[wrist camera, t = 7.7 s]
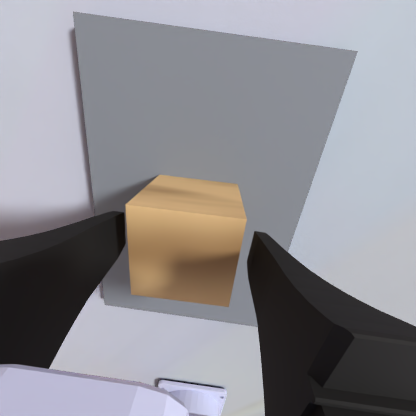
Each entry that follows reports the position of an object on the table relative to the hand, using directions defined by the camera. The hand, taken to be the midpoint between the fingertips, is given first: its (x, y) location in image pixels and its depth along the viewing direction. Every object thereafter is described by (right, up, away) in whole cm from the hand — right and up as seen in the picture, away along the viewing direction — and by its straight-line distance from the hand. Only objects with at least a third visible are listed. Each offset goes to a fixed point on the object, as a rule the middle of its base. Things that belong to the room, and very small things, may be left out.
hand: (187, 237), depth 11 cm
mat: (0, +2, +4) cm, 4 cm away
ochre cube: (0, +1, +3) cm, 3 cm away
